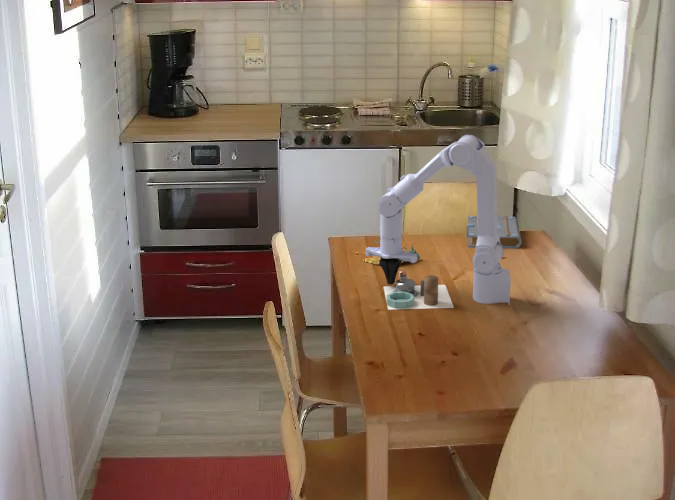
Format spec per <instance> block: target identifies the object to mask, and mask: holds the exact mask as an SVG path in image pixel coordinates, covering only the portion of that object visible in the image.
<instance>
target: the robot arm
mask: <svg viewBox="0 0 675 500" xmlns="http://www.w3.org/2000/svg"><path fill="white" fill-rule="evenodd" d="M453 166H456V167H458V168H461V169H463V170H466V171H468V172H470V174H472V175H473V176H475V179H476V213H477V215H476V216H477V224H478V238H477V243H476V248H475V253H474V255H473V256H472V260H471V261H472V265H473V285H472V299H473V301H474V302H476V303H479V304H485V305H491V304H499V303H507V304H508V305H509V306H511V303H510V301H511V280H512V279H511V274H510V273H511V272H510V269H508V268H503V267H502V265H501V263H500V261H501V259H502V258H503V256H504V248H503V247H502V246H501V244H500V237H499V235H498V233H497V216H498V200H497V198H498V195H497V194H498V193H497V191H498V189H497V166H496V164H495V162H494V160H493V158H492V157H491V155H490V153H489V152H488V151H487V149H486V146H485V142H483V141H482V140H481V139H479V138H478V137H476V136H475V135H472V134H465V135H463V136H461V137H460V138H459V139H458V141H454V142H453V143H451V144H450V145H448V146H446V147H445V148H444V149H442V150H441V151H439V152H438V153H437V154H436V155H435V156H434V157H433V158H431V160H430V161H429V162H428V163H427V164H425V165H424V166H423V167H422V168H421V169H420V170H419V171H418V172H417V173H407V174H403V175H402V176H401V177H400V178H399V179H400V180H399V181H398V183H396V184H395V185H394V186H393V187H392V186H390V188H388V189H387V193H385V194H384V195H382V196H380V198H379V200H378V201H377V205H376V206H377V207H376V208H377V211H378V213H380V216H379V217H380V220H379V228H380V230H379V231H380V232H379V233H380V234H379V241H380V242H379V243H380V244H379V245H380V246H379V247H380V248H379V247H376V246H375V247H372V246H368V247H366V248H365V256H368V257H369V256H370V257H374V256H378V257H381V259H380V260H379V264H378V265H379V266H380V267H381V268H382V271H383V273H384V275H385V280H386V283H387V285H391V286H393V284H396V278H397V274H398V272H399V269H400V267H401V264H403V262H404V261H405V262H410V263H411V264H415V263H416V262H418V261H417V258H418V257H417V254H418V253H417V254H413V253H409V252H410V251H406V250H403V249H402V248H403V247H402V246H403V245H402V244H403V243H402V238H403V237H402V230H403V229H402V226H403V225H402V224H403V223H402V209H404V207H405V206H406V205H408V204H409V203H410V202H411V201H413V200H414V199H415V198H416V197H417V196H418V195H420V194H421V193H422V192H423V190H424V185H425V182H427V181H428V180H429V179H430V178H431V177H433V176H434V175H435V174H436V173H438V172H440V170H441V169H443V168H444V167H447V168H448V167H449V168H452V167H453ZM402 261H403V262H402Z"/></svg>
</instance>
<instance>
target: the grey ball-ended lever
mask: <svg viewBox="0 0 675 500" xmlns="http://www.w3.org/2000/svg"><path fill="white" fill-rule="evenodd" d="M395 286H396V292H407V293H411V294H414V293H415V286H416V282H415V280H414V279H410V278H408V271H407V270H404V269H400V270H398V279H397V280H395Z"/></svg>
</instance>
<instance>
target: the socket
mask: <svg viewBox="0 0 675 500" xmlns="http://www.w3.org/2000/svg"><path fill="white" fill-rule="evenodd" d="M413 304H414V296H413V294H411V293H407V292H392V293H390V294H388V295H387V302H386V306H387V305H388V306H390V307H393V308H408V307H411V306H412V305H413ZM388 306H387V307H388Z"/></svg>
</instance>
